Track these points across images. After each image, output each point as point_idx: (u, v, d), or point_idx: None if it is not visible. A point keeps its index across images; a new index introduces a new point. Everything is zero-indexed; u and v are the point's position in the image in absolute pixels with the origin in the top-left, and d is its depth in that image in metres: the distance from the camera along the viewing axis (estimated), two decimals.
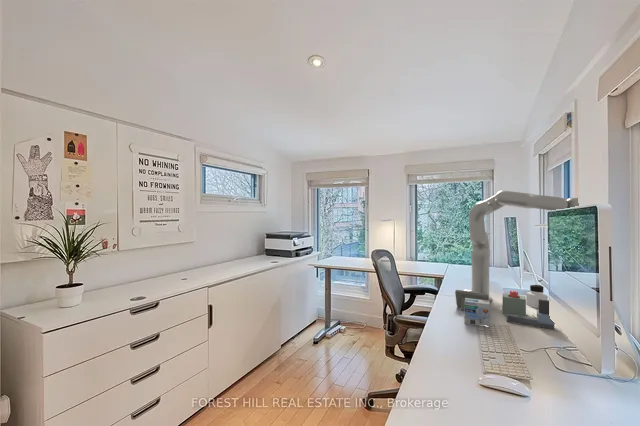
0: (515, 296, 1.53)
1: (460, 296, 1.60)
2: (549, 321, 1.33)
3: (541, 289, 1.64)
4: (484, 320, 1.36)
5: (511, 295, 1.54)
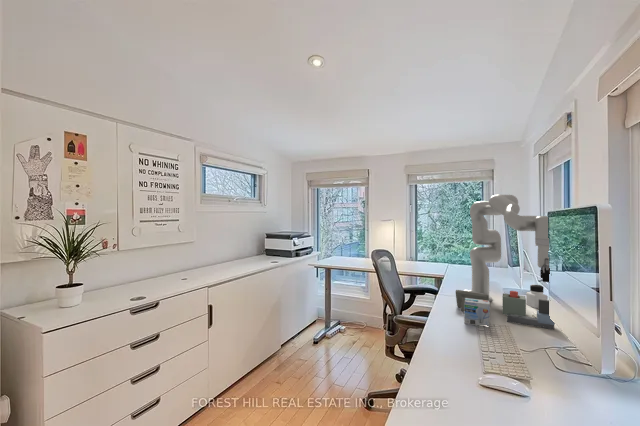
0: (515, 296, 1.53)
1: (460, 296, 1.60)
2: (549, 321, 1.33)
3: (541, 289, 1.64)
4: (484, 320, 1.36)
5: (511, 295, 1.54)
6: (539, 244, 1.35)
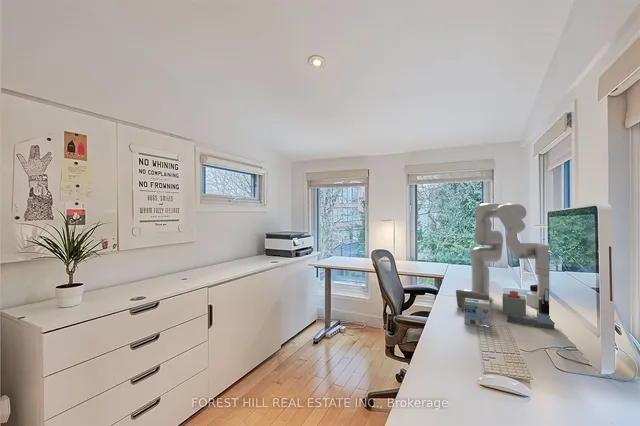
0: (515, 296, 1.53)
1: (461, 296, 1.61)
2: (549, 321, 1.33)
3: None
4: (484, 320, 1.36)
5: (511, 295, 1.54)
6: (539, 273, 1.35)
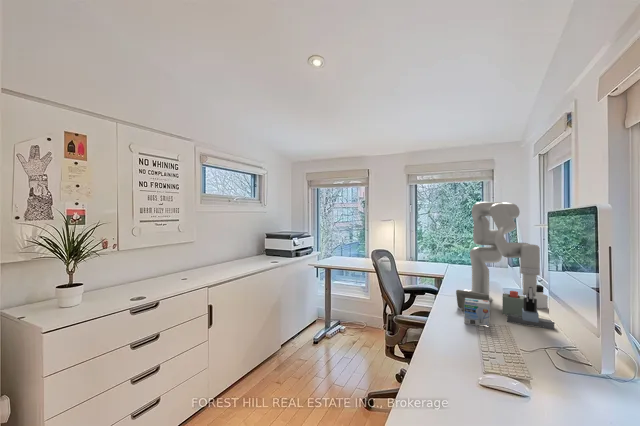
0: (515, 296, 1.53)
1: (461, 296, 1.61)
2: (533, 319, 1.36)
3: (541, 289, 1.64)
4: (484, 320, 1.36)
5: (511, 295, 1.54)
6: (524, 272, 1.38)
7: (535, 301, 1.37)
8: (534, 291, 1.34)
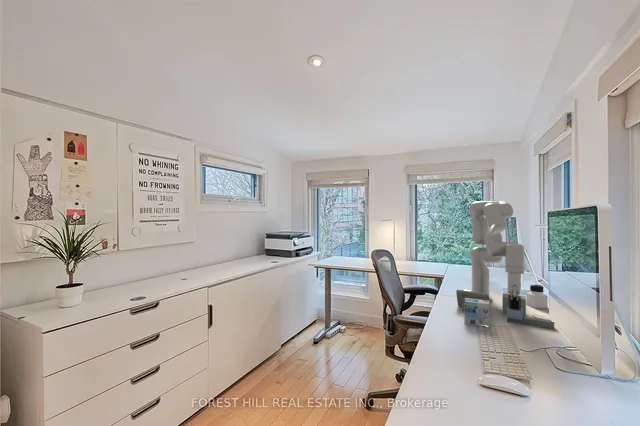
0: None
1: (461, 296, 1.61)
2: (517, 316, 1.39)
3: (541, 289, 1.64)
4: (484, 320, 1.36)
5: None
6: (508, 271, 1.42)
7: (519, 299, 1.41)
8: (518, 289, 1.38)
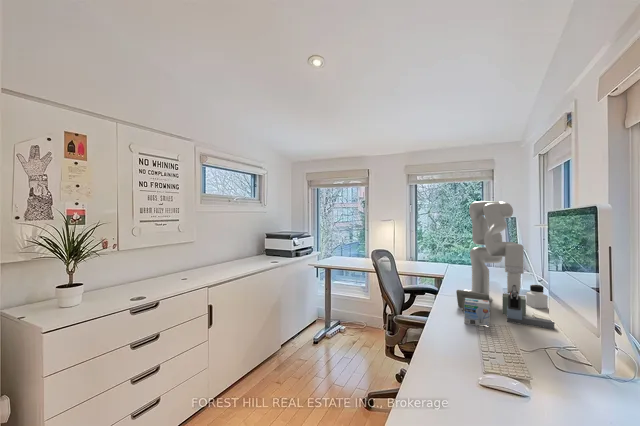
0: None
1: (461, 296, 1.61)
2: (517, 316, 1.39)
3: (541, 289, 1.64)
4: (484, 320, 1.36)
5: None
6: (508, 271, 1.42)
7: (519, 299, 1.41)
8: (517, 289, 1.38)
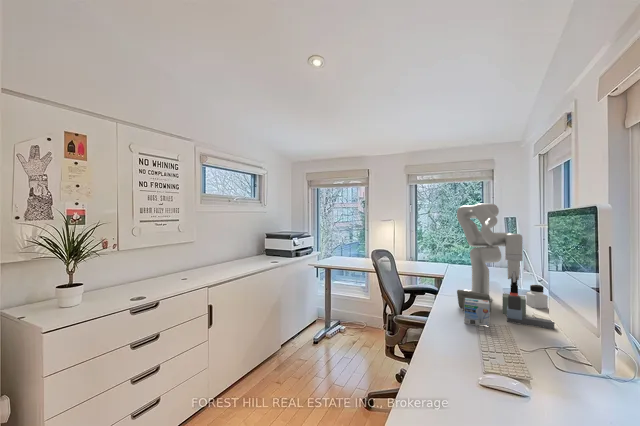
0: None
1: (462, 296, 1.61)
2: (517, 316, 1.39)
3: (541, 289, 1.64)
4: (484, 320, 1.36)
5: None
6: (508, 258, 1.53)
7: (519, 299, 1.41)
8: (517, 275, 1.49)
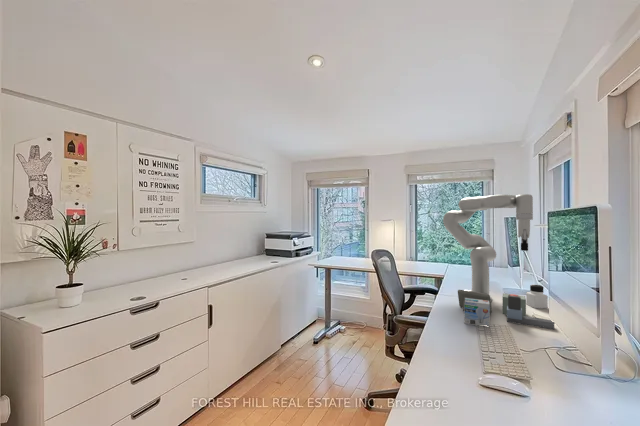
0: None
1: (462, 296, 1.61)
2: (517, 316, 1.39)
3: (541, 289, 1.64)
4: (484, 320, 1.36)
5: None
6: (519, 218, 1.61)
7: (519, 299, 1.41)
8: (528, 233, 1.57)
